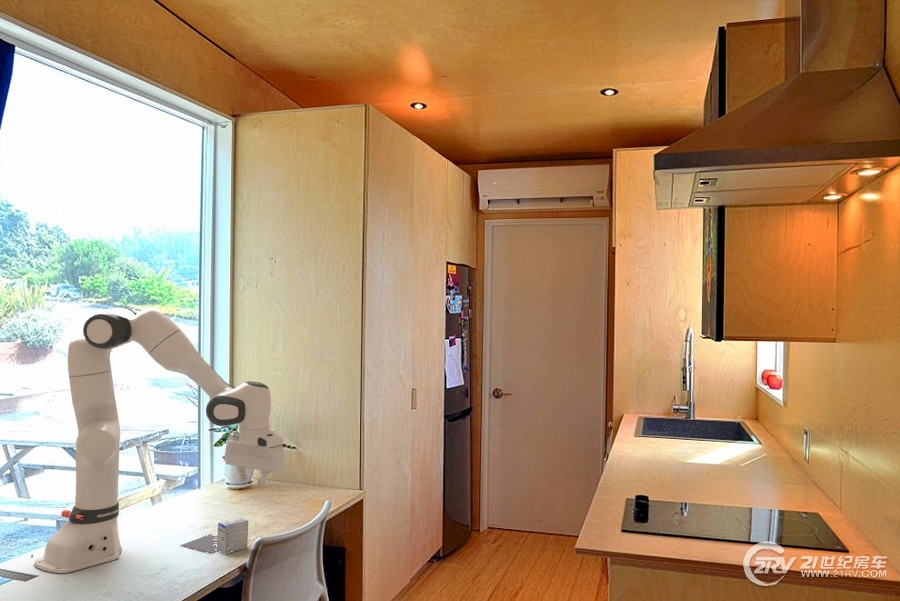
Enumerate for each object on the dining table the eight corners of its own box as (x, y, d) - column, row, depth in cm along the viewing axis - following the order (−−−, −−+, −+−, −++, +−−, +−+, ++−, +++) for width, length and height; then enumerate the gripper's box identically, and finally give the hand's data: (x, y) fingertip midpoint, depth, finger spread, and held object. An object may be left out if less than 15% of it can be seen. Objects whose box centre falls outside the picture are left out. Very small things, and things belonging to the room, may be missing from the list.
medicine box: (239, 544, 212) (240, 516, 212) (247, 548, 209) (248, 519, 209) (216, 551, 206) (217, 522, 206) (224, 555, 203) (225, 525, 203)
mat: (209, 553, 204) (209, 552, 204) (180, 546, 209) (180, 545, 209) (239, 541, 214) (239, 540, 214) (210, 534, 220) (210, 533, 220)
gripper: (220, 434, 207) (218, 480, 207) (273, 442, 197) (271, 490, 197) (235, 430, 212) (233, 475, 212) (288, 439, 203) (286, 485, 203)
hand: (252, 483), depth 205 cm, fingers open, 5 cm apart
